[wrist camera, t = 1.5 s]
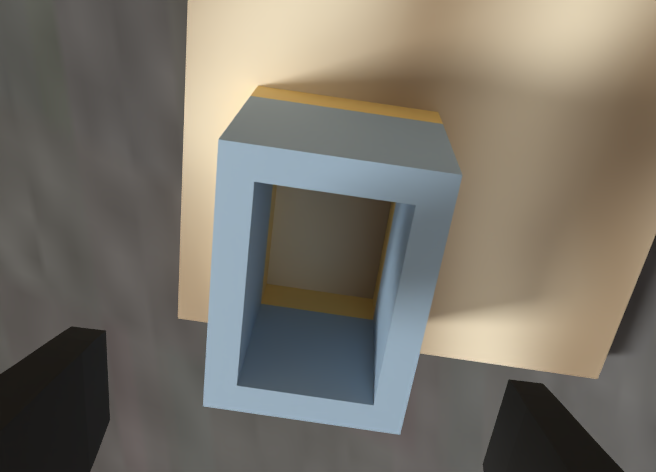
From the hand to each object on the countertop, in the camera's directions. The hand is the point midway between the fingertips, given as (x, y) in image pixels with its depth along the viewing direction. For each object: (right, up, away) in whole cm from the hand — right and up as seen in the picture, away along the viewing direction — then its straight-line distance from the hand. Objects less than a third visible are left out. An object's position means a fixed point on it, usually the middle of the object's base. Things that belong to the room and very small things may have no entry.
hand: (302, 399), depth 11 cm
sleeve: (+1, +4, +7) cm, 8 cm away
